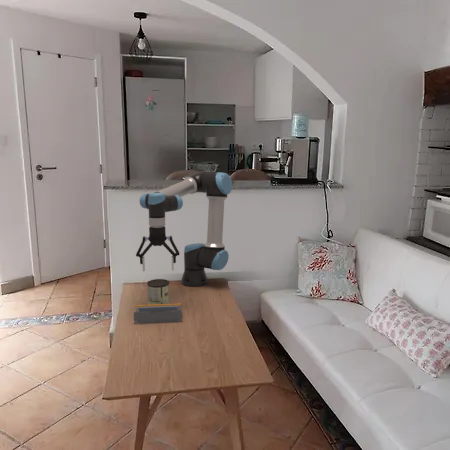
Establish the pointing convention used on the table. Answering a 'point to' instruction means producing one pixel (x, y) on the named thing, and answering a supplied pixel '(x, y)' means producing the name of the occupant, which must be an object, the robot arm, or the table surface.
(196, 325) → the table surface
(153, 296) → the coffee can
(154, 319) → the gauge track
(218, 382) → the table surface
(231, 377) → the table surface
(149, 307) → the carriage
